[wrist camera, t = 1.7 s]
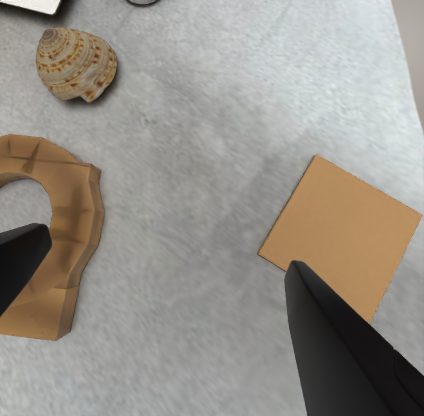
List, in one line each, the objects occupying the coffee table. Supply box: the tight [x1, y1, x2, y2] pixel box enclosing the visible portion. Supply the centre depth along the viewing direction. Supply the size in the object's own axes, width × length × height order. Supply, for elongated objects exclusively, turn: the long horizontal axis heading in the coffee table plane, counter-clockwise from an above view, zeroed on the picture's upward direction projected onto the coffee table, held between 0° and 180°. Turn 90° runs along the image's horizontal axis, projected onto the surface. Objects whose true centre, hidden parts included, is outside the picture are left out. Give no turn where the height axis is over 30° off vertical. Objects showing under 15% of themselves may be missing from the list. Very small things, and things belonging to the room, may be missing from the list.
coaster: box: [257, 155, 423, 323], centre depth 23 cm, size 12×12×1 cm
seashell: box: [36, 27, 117, 103], centre depth 24 cm, size 8×6×8 cm
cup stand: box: [0, 134, 104, 341], centre depth 22 cm, size 18×16×2 cm
